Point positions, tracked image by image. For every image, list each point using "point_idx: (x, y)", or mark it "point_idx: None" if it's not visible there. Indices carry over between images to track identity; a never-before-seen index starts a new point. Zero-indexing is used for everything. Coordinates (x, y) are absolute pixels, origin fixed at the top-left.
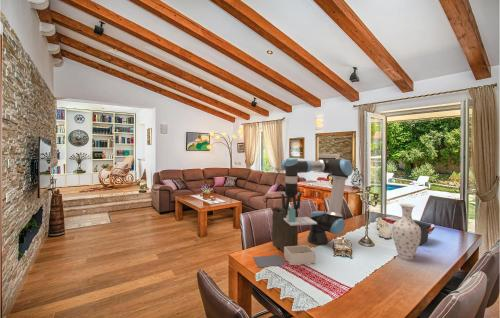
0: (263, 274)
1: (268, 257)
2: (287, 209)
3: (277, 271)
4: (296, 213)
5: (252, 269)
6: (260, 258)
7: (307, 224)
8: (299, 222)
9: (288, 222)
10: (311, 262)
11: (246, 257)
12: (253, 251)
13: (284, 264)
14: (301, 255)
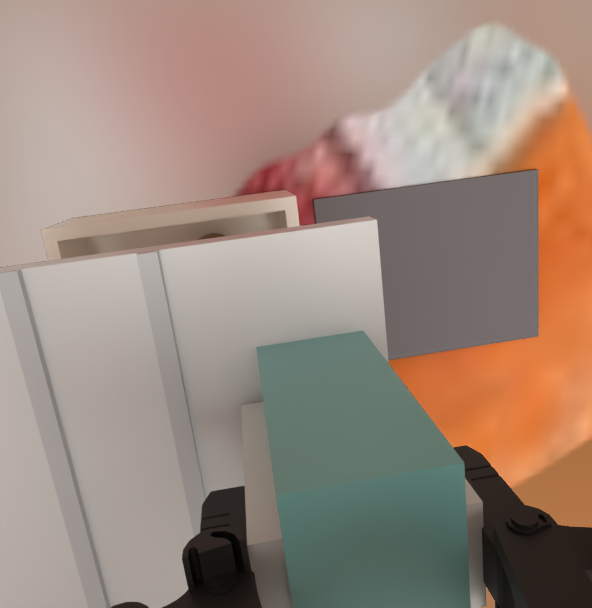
0: (519, 64)
1: (428, 326)
2: (507, 517)
3: (407, 103)
4: (209, 506)
5: (579, 148)
6: (491, 310)
7: (28, 264)
8: (179, 314)
9: (385, 335)
10: (102, 214)
11: (581, 339)
12: (512, 436)
13: (332, 203)
14: (188, 208)
